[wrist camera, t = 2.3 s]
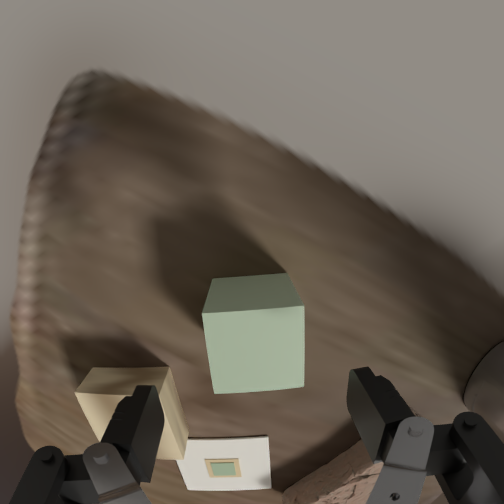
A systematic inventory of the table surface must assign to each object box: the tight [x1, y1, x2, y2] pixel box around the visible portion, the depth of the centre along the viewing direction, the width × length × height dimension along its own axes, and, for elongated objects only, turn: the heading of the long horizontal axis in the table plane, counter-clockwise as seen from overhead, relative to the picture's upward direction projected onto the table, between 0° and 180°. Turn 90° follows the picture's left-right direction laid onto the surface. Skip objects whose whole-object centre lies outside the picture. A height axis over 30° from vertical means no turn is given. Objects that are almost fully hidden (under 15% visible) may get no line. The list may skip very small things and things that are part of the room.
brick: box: [282, 410, 418, 504], centre depth 24 cm, size 17×8×5 cm, turn 136°
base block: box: [75, 367, 189, 460], centre depth 21 cm, size 7×7×4 cm
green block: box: [202, 273, 304, 394], centre depth 18 cm, size 5×5×6 cm
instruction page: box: [176, 436, 271, 491], centre depth 24 cm, size 9×9×1 cm
